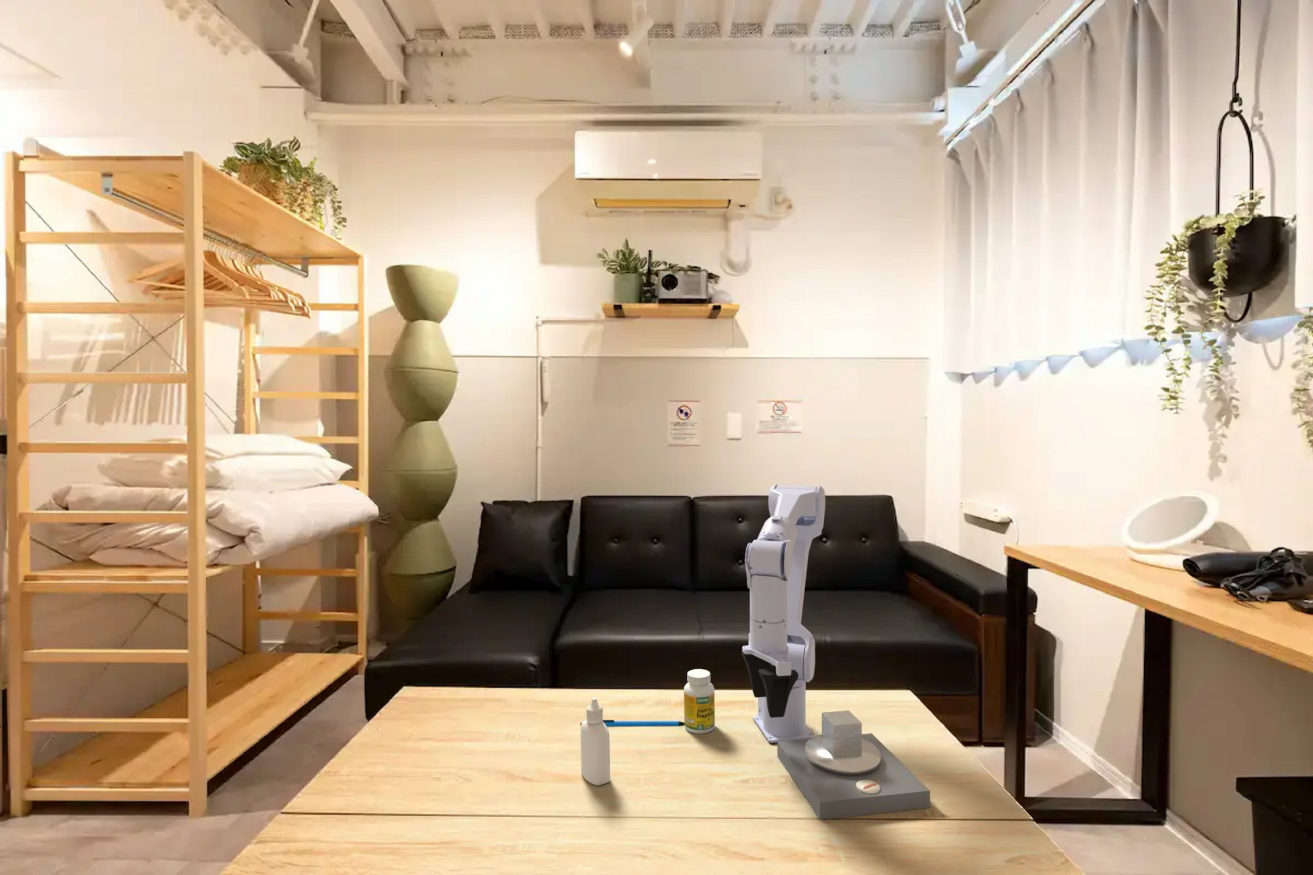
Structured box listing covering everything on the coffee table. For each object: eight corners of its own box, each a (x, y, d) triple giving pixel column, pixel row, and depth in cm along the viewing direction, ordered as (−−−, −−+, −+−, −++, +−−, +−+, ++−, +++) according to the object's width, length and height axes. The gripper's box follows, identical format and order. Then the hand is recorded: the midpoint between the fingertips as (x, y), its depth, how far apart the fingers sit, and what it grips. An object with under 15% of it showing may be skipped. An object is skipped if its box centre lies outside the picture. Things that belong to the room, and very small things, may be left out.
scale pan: (794, 741, 106) (794, 736, 106) (860, 735, 108) (860, 730, 108) (822, 777, 96) (822, 772, 95) (894, 770, 97) (894, 765, 97)
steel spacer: (821, 744, 104) (821, 712, 103) (848, 741, 104) (848, 710, 104) (833, 758, 99) (833, 725, 99) (861, 756, 100) (861, 722, 100)
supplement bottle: (702, 717, 121) (702, 664, 121) (721, 729, 117) (720, 674, 116) (678, 725, 118) (677, 671, 118) (696, 737, 114) (695, 681, 113)
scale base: (777, 756, 107) (777, 739, 107) (871, 747, 110) (871, 731, 109) (819, 819, 90) (819, 799, 90) (929, 807, 93) (930, 788, 93)
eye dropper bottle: (609, 766, 105) (608, 690, 104) (610, 786, 99) (609, 705, 99) (581, 767, 104) (580, 691, 104) (580, 787, 99) (579, 707, 98)
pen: (580, 725, 119) (580, 718, 119) (688, 725, 119) (688, 718, 119) (580, 727, 118) (580, 721, 118) (688, 727, 118) (688, 721, 118)
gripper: (730, 607, 110) (730, 689, 110) (757, 633, 96) (757, 728, 96) (772, 605, 111) (772, 687, 112) (805, 630, 97) (804, 724, 97)
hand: (768, 705), depth 104 cm, fingers open, 7 cm apart
